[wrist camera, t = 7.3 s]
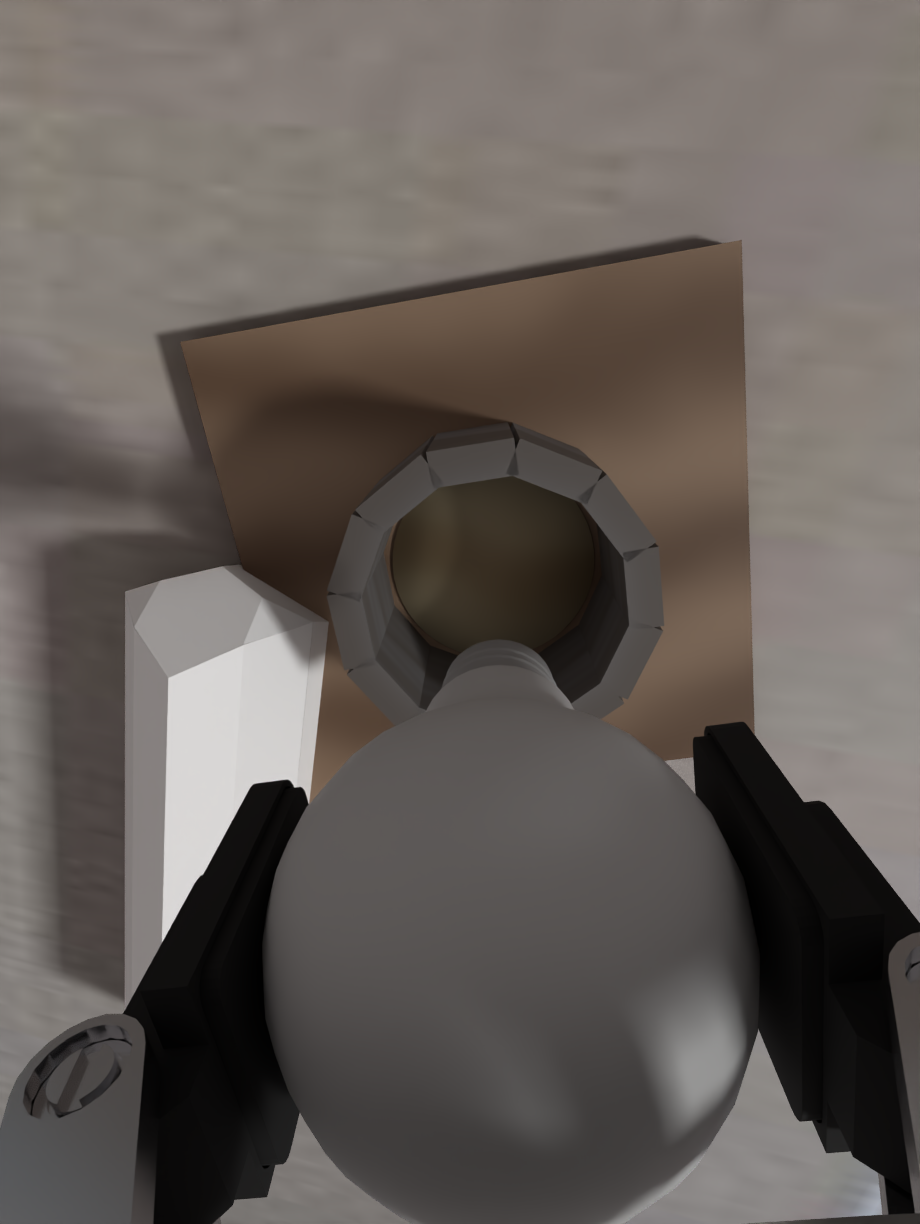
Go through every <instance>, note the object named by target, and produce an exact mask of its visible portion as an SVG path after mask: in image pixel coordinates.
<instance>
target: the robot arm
mask: <svg viewBox="0 0 920 1224" xmlns="http://www.w3.org/2000/svg"><path fill="white" fill-rule="evenodd" d="M693 759H694V775H695V791H696V796H697V797H698V798H699V799H700V800H701V802H702V803H703V804H704V805H705V806H706V808H707V809H708V810H709V811H710V812H711V814H712V816H713V818H714V820H715V822H716V824H717V826H718V827H719V829H720V831H721V833H722V835H723V837H724V839H725V841H726V843H727V845H728V847H729V849H730V851H731V853H732V855H733V857H734V859H735V861H736V863H737V865H738V867H739V869H740V871H741V873H742V875H743V877H744V881H745V885H746V890H747V894H748V898H749V903H750V908H751V912H752V917H753V922H754V927H755V931H756V937H757V942H758V947H759V952H760V981H759V1015H758V1029H759V1031H760V1034H761V1036H762V1039H763V1041H764V1043H765V1046H766V1048H767V1051H768V1053H769V1055H770V1058H771V1060H772V1063H773V1065H774V1067H775V1070H776V1072H777V1075H778V1077H779V1080H780V1082H781V1084H782V1087H783V1089H784V1092H785V1094H786V1096H787V1099H788V1101H789V1104H790V1106H791V1108H792V1111H793V1113H794V1115H795V1116H796V1118H797V1119H798V1120H799V1121H800V1122H801V1121H813V1124H814V1126H815V1128H816V1130H817V1133H818V1135H819V1137H820V1140H821V1142H822V1144H823V1147H824V1149H825V1151H826V1153H835V1152H848V1151H851V1153H852V1155H853V1157H854V1158H856V1159H857V1160H859V1161H860V1162H862V1163H864V1164H865V1165H867V1166H868V1167H870V1168H871V1169H873V1170H874V1171H876V1172H878V1177H879V1187H880V1196H881V1205H882V1214H883V1215H872V1216H857V1217H842V1218H826V1219H811V1220H795V1221H780V1222H765V1223H749V1224H920V923H919V922H918V920H917V919H916V918H915V916H914V915H913V914H912V913H911V911H910V910H909V909H908V907H907V906H906V905H905V904H904V902H903V901H902V900H901V898H900V897H899V896H898V895H897V893H896V892H895V891H894V890H893V888H892V887H891V886H890V884H889V883H888V882H887V881H886V879H885V878H884V877H883V875H882V874H881V873H880V872H879V870H878V869H877V868H876V866H875V865H874V864H873V863H872V861H871V860H870V859H869V857H868V856H867V855H866V854H865V852H864V851H863V850H862V848H861V847H860V846H859V845H858V843H857V842H856V841H855V840H854V838H853V837H852V836H851V834H850V833H849V832H848V831H847V829H846V828H845V827H844V825H843V824H842V823H841V822H840V820H839V819H838V818H837V816H836V815H835V814H834V813H833V811H832V810H831V809H830V808H829V807H828V806H827V805H826V804H825V803H824V802H821V801H812V802H803V801H802V799H801V798H800V797H799V795H798V794H797V792H796V791H795V790H794V788H793V787H792V786H791V784H790V783H789V781H788V780H787V779H786V777H785V776H784V775H783V773H782V772H781V771H780V769H779V768H778V766H777V765H776V764H775V762H774V761H773V760H772V758H771V757H770V755H769V754H768V753H767V751H766V750H765V749H764V747H763V746H762V745H761V743H760V742H759V740H758V739H757V738H756V736H755V735H754V734H753V732H752V731H751V729H750V728H749V727H748V725H747V724H746V723H745V722H734V723H726V724H718V725H710V726H706V727H705V730H704V736H699V737H694V738H693ZM308 805H309V803H308V799H307V796H306V793H305V791H304V789H303V788H302V787H295V788H294V786H293V784H292V782H291V781H290V780H288V779H287V780H279V781H271V782H263V783H256V784H253V785H252V786H251V787H250V789H249V791H248V793H247V794H246V796H245V798H244V800H243V802H242V804H241V806H240V807H239V809H238V811H237V813H236V815H235V817H234V818H233V820H232V822H231V824H230V826H229V828H228V829H227V831H226V833H225V835H224V837H223V839H222V841H221V842H220V844H219V846H218V848H217V850H216V852H215V853H214V855H213V857H212V859H211V861H210V863H209V865H208V866H207V868H206V870H205V872H204V874H203V875H201V876H200V877H199V878H198V879H197V881H196V882H195V883H194V885H193V887H192V889H191V891H190V893H189V894H188V896H187V898H186V900H185V902H184V904H183V905H182V907H181V909H180V911H179V913H178V914H177V916H176V918H175V920H174V922H173V924H172V925H171V927H170V929H169V931H168V933H167V934H166V936H165V938H164V940H163V942H162V944H161V945H160V947H159V949H158V951H157V953H156V955H155V956H154V958H153V960H152V962H151V964H150V965H149V967H148V969H147V971H146V973H145V975H144V976H143V978H142V980H141V982H140V984H139V985H138V987H137V989H136V991H135V993H134V995H133V996H132V998H131V1000H130V1002H129V1004H128V1006H127V1007H126V1009H125V1011H124V1013H123V1014H105V1015H102V1016H98V1017H94V1018H91V1019H87V1020H85V1021H83V1022H81V1023H79V1024H77V1025H75V1026H73V1027H71V1028H69V1029H67V1030H66V1031H64V1032H63V1033H62V1034H60V1035H59V1036H57V1037H56V1038H55V1039H53V1040H52V1041H50V1042H49V1043H48V1044H47V1045H46V1046H45V1047H43V1048H42V1049H41V1050H40V1051H39V1052H38V1053H37V1054H36V1055H35V1056H34V1057H33V1058H32V1059H31V1060H30V1061H29V1063H28V1064H27V1066H26V1067H25V1068H24V1070H23V1071H22V1072H21V1074H20V1075H19V1076H18V1078H17V1080H16V1082H15V1084H14V1086H13V1089H12V1091H11V1093H10V1096H9V1098H8V1102H7V1106H6V1109H5V1113H4V1117H3V1120H2V1124H1V1127H0V1224H221V1220H220V1217H221V1216H222V1215H223V1214H224V1213H225V1212H226V1211H227V1210H228V1209H229V1208H230V1207H231V1206H232V1205H233V1203H234V1200H237V1199H249V1198H262V1197H267V1195H268V1191H269V1188H270V1184H271V1180H272V1176H273V1172H274V1168H275V1165H278V1164H284V1163H285V1162H286V1160H287V1158H288V1156H289V1153H290V1150H291V1146H292V1142H293V1138H294V1133H295V1129H296V1125H297V1121H298V1117H299V1113H300V1111H299V1110H298V1108H297V1106H296V1104H295V1102H294V1100H293V1099H292V1097H291V1095H290V1093H289V1091H288V1089H287V1086H286V1083H285V1080H284V1078H283V1075H282V1072H281V1069H280V1067H279V1064H278V1061H277V1058H276V1056H275V1053H274V1049H273V1046H272V1042H271V1038H270V1034H269V1031H268V1027H267V1023H266V1020H265V1008H264V991H263V964H262V941H263V933H264V926H265V918H266V912H267V906H268V901H269V897H270V893H271V889H272V885H273V881H274V877H275V873H276V869H277V867H278V865H279V862H280V860H281V858H282V855H283V853H284V850H285V848H286V846H287V843H288V841H289V839H290V837H291V835H292V834H293V832H294V830H295V828H296V826H297V824H298V822H299V820H300V818H301V816H302V815H303V813H304V811H305V809H306V807H307V806H308Z"/></svg>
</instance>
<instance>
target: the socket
mask: <svg viewBox="0 0 920 1224" xmlns="http://www.w3.org/2000/svg"><path fill="white" fill-rule="evenodd" d="M180 343H181V347H182V350H183V354H184V358H185V361H186V365H187V369H188V372H189V376H190V379H191V383H192V387H193V390H194V394H195V398H196V401H197V405H198V408H199V412H200V416H201V419H202V423H203V426H204V430H205V434H206V437H207V441H208V445H209V448H210V452H211V455H212V459H213V463H214V466H215V470H216V474H217V477H218V481H219V484H220V488H221V492H222V495H223V499H224V502H225V506H226V510H227V513H228V517H229V521H230V524H231V528H232V531H233V535H234V539H235V542H236V546H237V549H238V553H239V557H240V560H241V564H242V568H243V570H245V571H246V572H248V573H249V574H251V575H253V576H254V577H256V578H258V579H259V580H261V581H263V582H264V583H266V584H268V585H269V586H271V587H272V588H274V589H276V590H277V591H279V592H281V593H282V594H284V595H286V596H287V597H289V598H291V599H292V600H294V601H296V602H297V603H299V604H300V605H302V606H304V607H305V608H307V609H309V610H310V611H312V612H314V613H315V614H317V615H319V616H320V617H322V618H323V619H325V620H327V621H328V622H329V625H328V634H327V643H326V652H325V662H324V671H323V680H322V689H321V699H320V708H319V717H318V726H317V736H316V745H315V754H314V763H313V773H312V782H311V791H310V800H309V804H310V803H311V802H312V800H313V799H314V798H315V797H316V796H317V795H318V793H319V792H320V791H321V790H322V789H323V788H324V787H325V785H326V784H327V783H328V782H329V781H330V780H331V778H332V777H333V776H334V775H335V774H336V773H337V772H338V771H339V769H340V768H341V767H342V766H343V765H344V764H345V763H346V762H347V760H348V759H349V758H350V757H351V756H352V755H353V754H354V753H356V752H357V751H358V750H360V749H361V748H362V747H364V746H365V745H366V744H368V743H369V742H370V741H372V740H373V739H374V738H376V737H377V736H378V735H380V734H381V733H382V732H384V731H386V730H388V729H390V728H392V727H394V726H397V725H399V724H401V723H403V722H405V721H407V720H409V719H411V718H413V717H415V716H417V715H420V714H422V713H425V712H426V710H427V708H428V706H429V705H430V703H431V701H432V699H433V698H434V697H435V696H436V695H437V693H438V692H439V691H440V690H441V688H442V684H443V681H444V679H445V677H446V674H447V671H448V669H449V667H450V666H451V664H452V662H453V661H454V660H455V659H456V658H457V657H458V655H459V654H461V653H462V652H463V651H465V650H466V649H467V648H469V647H471V646H473V645H475V644H477V643H480V642H484V641H488V640H498V639H500V640H510V641H514V642H517V643H521V644H523V645H525V646H527V647H529V648H531V649H532V650H533V651H535V652H536V653H537V654H539V655H540V657H541V658H542V659H543V660H544V661H545V662H546V664H547V666H548V668H549V669H550V671H551V674H552V677H553V679H554V681H555V683H556V685H557V687H558V688H559V689H560V690H561V692H562V693H563V694H564V695H565V696H566V697H567V698H568V700H569V701H570V703H571V705H572V707H573V709H574V710H576V711H579V712H583V713H586V714H589V715H592V716H594V717H596V718H598V719H600V720H602V721H604V722H606V723H609V724H611V725H613V726H615V727H617V728H619V729H621V730H623V731H625V732H627V733H629V734H630V735H632V736H633V737H634V738H636V739H637V740H638V741H640V742H641V743H642V744H643V745H645V746H646V747H647V748H649V749H650V750H651V751H652V752H654V753H655V754H656V755H658V756H659V757H660V758H662V759H663V760H664V761H666V760H674V759H682V758H690V757H693V738H694V737H699V736H704V730H705V727H706V726H710V725H718V724H726V723H734V722H745V723H746V724H747V725H748V727H749V728H750V729H751V731H752V732H753V734H754V696H753V658H752V620H751V582H750V544H749V505H748V467H747V429H746V391H745V353H744V315H743V276H742V240H740V241H734V242H729V243H723V244H718V245H712V246H707V247H701V248H696V249H690V250H685V251H679V252H674V253H668V254H662V255H657V256H651V257H646V258H640V259H635V260H629V261H624V262H618V263H613V264H607V265H602V266H596V267H591V268H585V269H580V270H574V271H569V272H563V273H558V274H552V275H547V276H541V277H536V278H530V279H525V280H519V281H514V282H508V283H503V284H497V285H491V286H486V287H480V288H475V289H469V290H464V291H458V292H453V293H447V294H442V295H436V296H431V297H425V298H420V299H414V300H409V301H403V302H398V303H392V304H387V305H381V306H376V307H370V308H365V309H359V310H354V311H348V312H343V313H337V314H332V315H326V316H321V317H315V318H309V319H304V320H298V321H293V322H287V323H282V324H276V325H271V326H265V327H260V328H254V329H249V330H243V331H238V332H232V333H227V334H221V335H216V336H210V337H205V338H199V339H194V340H188V341H183V342H180ZM312 630H313V628H312ZM287 631H288V630H287ZM284 632H285V631H284ZM281 633H282V632H281ZM262 639H263V638H262ZM311 640H312V638H311ZM310 650H311V648H310ZM309 660H310V658H309ZM308 670H309V668H308ZM307 680H308V679H307ZM306 690H307V689H306ZM305 700H306V699H305ZM304 710H305V709H304ZM303 720H304V719H303ZM302 730H303V729H302ZM301 740H302V739H301ZM300 750H301V749H300ZM299 760H300V759H299ZM298 770H299V769H298Z"/></svg>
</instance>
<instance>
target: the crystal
mask: <svg viewBox="0 0 920 1224" xmlns="http://www.w3.org/2000/svg"><path fill="white" fill-rule="evenodd" d="M328 625H329V622H328V621H327V620H325V619H323V618H322V617H320V616H319V615H317V614H315V613H314V612H312V611H310V610H309V609H307V608H305V607H304V606H302V605H300V604H299V603H297V602H296V601H294V600H292V599H291V598H289V597H287V596H286V595H284V594H282V593H281V592H279V591H277V590H276V589H274V588H272V587H271V586H269V585H268V584H266V583H264V582H263V581H261V580H259V579H258V578H256V577H254V576H253V575H251V574H249V573H248V572H246V571H245V570H243V568H242V565H231V566H222V567H217V568H213V569H209V570H204V571H200V572H196V573H191V574H187V575H183V576H178V577H174V578H170V579H165V580H161V581H157V582H154V583H151V584H148V585H144V586H141V587H138V588H135V589H131V590H128V591H125V1009H126V1007H127V1006H128V1004H129V1002H130V1000H131V998H132V996H133V995H134V993H135V991H136V989H137V987H138V985H139V984H140V982H141V980H142V978H143V976H144V975H145V973H146V971H147V969H148V967H149V965H150V964H151V962H152V960H153V958H154V956H155V955H156V953H157V951H158V949H159V947H160V945H161V944H162V942H163V940H164V938H165V936H166V934H167V933H168V931H169V929H170V927H171V925H172V924H173V922H174V920H175V918H176V916H177V914H178V913H179V911H180V909H181V907H182V905H183V904H184V902H185V900H186V898H187V896H188V894H189V893H190V891H191V889H192V887H193V885H194V883H195V882H196V881H197V879H198V878H199V877H200V876H201V875H203V874H204V872H205V870H206V868H207V866H208V865H209V863H210V861H211V859H212V857H213V855H214V853H215V852H216V850H217V848H218V846H219V844H220V842H221V841H222V839H223V837H224V835H225V833H226V831H227V829H228V828H229V826H230V824H231V822H232V820H233V818H234V817H235V815H236V813H237V811H238V809H239V807H240V806H241V804H242V802H243V800H244V798H245V796H246V794H247V793H248V791H249V789H250V787H251V786H252V785H253V784H256V783H263V782H271V781H279V780H287V779H288V780H290V781H291V782H292V784H293V786H294V788H295V787H302V788H303V789H304V791H305V793H306V796H307V799H308V803H309V800H310V791H311V782H312V773H313V763H314V754H315V745H316V736H317V726H318V717H319V708H320V699H321V689H322V680H323V671H324V662H325V652H326V643H327V634H328ZM312 628H313V630H312ZM287 630H288V631H287ZM284 631H285V632H284ZM281 632H282V633H281ZM262 638H263V639H262ZM311 638H312V640H311ZM259 639H260V640H259ZM256 640H257V641H256ZM253 641H254V642H253ZM250 642H251V643H250ZM247 643H248V644H247ZM244 644H245V645H244ZM241 645H242V646H241ZM239 646H240V647H239ZM237 647H238V648H237ZM310 648H311V650H310ZM232 649H233V650H232ZM230 650H231V651H230ZM228 651H229V652H228ZM223 653H224V654H223ZM221 654H222V655H221ZM214 657H215V658H214ZM212 658H213V659H212ZM309 658H310V660H309ZM205 661H206V662H205ZM203 662H204V663H203ZM196 665H197V666H196ZM194 666H195V667H194ZM308 668H309V670H308ZM187 669H188V670H187ZM307 679H308V680H307ZM306 689H307V690H306ZM305 699H306V700H305ZM304 709H305V710H304ZM303 719H304V720H303ZM302 729H303V730H302ZM301 739H302V740H301ZM300 749H301V750H300ZM299 759H300V760H299ZM298 769H299V770H298Z"/></svg>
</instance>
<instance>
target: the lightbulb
mask: <svg viewBox="0 0 920 1224" xmlns="http://www.w3.org/2000/svg"><path fill="white" fill-rule="evenodd" d="M262 964H263V991H264V1008H265V1020H266V1023H267V1027H268V1031H269V1034H270V1038H271V1042H272V1046H273V1049H274V1053H275V1056H276V1058H277V1061H278V1064H279V1067H280V1069H281V1072H282V1075H283V1078H284V1080H285V1083H286V1086H287V1089H288V1091H289V1093H290V1095H291V1097H292V1099H293V1100H294V1102H295V1104H296V1106H297V1108H298V1110H299V1111H300V1113H301V1115H302V1117H303V1119H304V1120H305V1122H306V1124H307V1125H308V1127H309V1128H310V1130H311V1131H312V1133H313V1135H314V1136H315V1138H316V1139H317V1141H318V1142H319V1144H320V1146H321V1147H322V1149H323V1150H324V1152H325V1153H326V1155H327V1156H328V1157H329V1158H330V1159H331V1160H332V1161H333V1163H334V1164H335V1165H336V1166H337V1167H338V1168H339V1170H340V1171H341V1172H342V1173H343V1174H344V1175H345V1176H346V1177H347V1178H348V1179H349V1180H350V1181H352V1182H353V1183H354V1184H355V1185H357V1186H358V1187H359V1188H360V1189H362V1190H363V1191H364V1192H366V1193H367V1194H368V1195H369V1196H371V1197H372V1198H373V1199H375V1200H376V1201H378V1202H379V1203H380V1204H382V1205H383V1206H385V1207H386V1208H388V1209H389V1210H390V1211H392V1212H393V1213H395V1214H396V1215H398V1216H399V1217H401V1218H403V1219H405V1220H407V1221H408V1222H410V1223H412V1224H624V1223H626V1222H627V1221H629V1220H630V1219H632V1218H633V1217H634V1216H636V1215H637V1214H639V1213H640V1212H642V1211H643V1210H645V1209H646V1208H648V1207H649V1206H651V1205H652V1204H653V1203H655V1202H656V1201H658V1200H659V1199H661V1198H662V1197H664V1196H665V1195H666V1194H668V1193H669V1192H671V1191H672V1190H674V1189H675V1188H676V1187H677V1186H678V1185H679V1184H680V1183H681V1182H682V1181H683V1180H684V1179H685V1178H686V1177H687V1176H688V1175H689V1174H690V1173H691V1172H692V1171H693V1170H694V1169H695V1168H696V1167H697V1165H698V1164H699V1162H700V1160H701V1159H702V1157H703V1156H704V1154H705V1152H706V1151H707V1149H708V1147H709V1146H710V1144H711V1143H712V1141H713V1139H714V1138H715V1136H716V1134H717V1133H718V1131H719V1129H720V1128H721V1126H722V1124H723V1123H724V1121H725V1120H726V1118H727V1116H728V1115H729V1113H730V1111H731V1110H732V1108H733V1106H734V1105H735V1102H736V1099H737V1096H738V1093H739V1089H740V1086H741V1083H742V1080H743V1077H744V1074H745V1071H746V1068H747V1064H748V1061H749V1058H750V1055H751V1052H752V1048H753V1045H754V1042H755V1039H756V1036H757V1032H758V1015H759V981H760V952H759V947H758V942H757V937H756V931H755V927H754V922H753V917H752V912H751V908H750V903H749V898H748V894H747V890H746V885H745V881H744V877H743V875H742V873H741V871H740V869H739V867H738V865H737V863H736V861H735V859H734V857H733V855H732V853H731V851H730V849H729V847H728V845H727V843H726V841H725V839H724V837H723V835H722V833H721V831H720V829H719V827H718V826H717V824H716V822H715V820H714V818H713V816H712V814H711V812H710V811H709V810H708V809H707V808H706V806H705V805H704V804H703V803H702V802H701V800H700V799H699V798H698V797H697V796H696V795H695V793H694V792H693V791H692V790H691V789H690V787H689V786H688V785H687V784H686V783H685V782H684V780H683V779H682V778H681V777H680V776H679V775H678V774H677V773H676V772H675V771H674V770H673V769H672V768H671V767H670V766H669V765H668V764H667V763H666V762H665V761H664V760H663V759H662V758H660V757H659V756H658V755H656V754H655V753H654V752H652V751H651V750H650V749H649V748H647V747H646V746H645V745H643V744H642V743H641V742H640V741H638V740H637V739H636V738H634V737H633V736H632V735H630V734H629V733H627V732H625V731H623V730H621V729H619V728H617V727H615V726H613V725H611V724H609V723H606V722H604V721H602V720H600V719H598V718H596V717H594V716H592V715H589V714H586V713H583V712H579V711H576V710H574V709H573V707H572V705H571V703H570V701H569V700H568V698H567V697H566V696H565V695H564V694H563V693H562V692H561V690H560V689H559V688H558V687H557V685H556V683H555V681H554V679H553V677H552V674H551V671H550V669H549V668H548V666H547V664H546V662H545V661H544V660H543V659H542V658H541V657H540V655H539V654H537V653H536V652H535V651H533V650H532V649H531V648H529V647H527V646H525V645H523V644H521V643H517V642H514V641H510V640H500V639H498V640H488V641H484V642H480V643H477V644H475V645H473V646H471V647H469V648H467V649H466V650H465V651H463V652H462V653H461V654H459V655H458V657H457V658H456V659H455V660H454V661H453V662H452V664H451V666H450V667H449V669H448V671H447V674H446V677H445V679H444V681H443V684H442V688H441V690H440V691H439V692H438V693H437V695H436V696H435V697H434V698H433V699H432V701H431V703H430V705H429V706H428V708H427V710H426V712H425V713H422V714H420V715H417V716H415V717H413V718H411V719H409V720H407V721H405V722H403V723H401V724H399V725H397V726H394V727H392V728H390V729H388V730H386V731H384V732H382V733H381V734H380V735H378V736H377V737H376V738H374V739H373V740H372V741H370V742H369V743H368V744H366V745H365V746H364V747H362V748H361V749H360V750H358V751H357V752H356V753H354V754H353V755H352V756H351V757H350V758H349V759H348V760H347V762H346V763H345V764H344V765H343V766H342V767H341V768H340V769H339V771H338V772H337V773H336V774H335V775H334V776H333V777H332V778H331V780H330V781H329V782H328V783H327V784H326V785H325V787H324V788H323V789H322V790H321V791H320V792H319V793H318V795H317V796H316V797H315V798H314V799H313V800H312V802H311V803H310V804H309V805H308V806H307V807H306V809H305V811H304V813H303V815H302V816H301V818H300V820H299V822H298V824H297V826H296V828H295V830H294V832H293V834H292V835H291V837H290V839H289V841H288V843H287V846H286V848H285V850H284V853H283V855H282V858H281V860H280V862H279V865H278V867H277V869H276V873H275V877H274V881H273V885H272V889H271V893H270V897H269V901H268V906H267V912H266V918H265V926H264V933H263V941H262Z"/></svg>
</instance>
